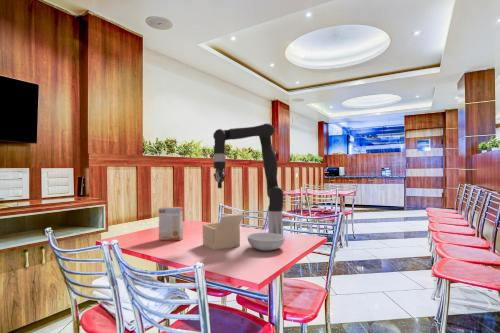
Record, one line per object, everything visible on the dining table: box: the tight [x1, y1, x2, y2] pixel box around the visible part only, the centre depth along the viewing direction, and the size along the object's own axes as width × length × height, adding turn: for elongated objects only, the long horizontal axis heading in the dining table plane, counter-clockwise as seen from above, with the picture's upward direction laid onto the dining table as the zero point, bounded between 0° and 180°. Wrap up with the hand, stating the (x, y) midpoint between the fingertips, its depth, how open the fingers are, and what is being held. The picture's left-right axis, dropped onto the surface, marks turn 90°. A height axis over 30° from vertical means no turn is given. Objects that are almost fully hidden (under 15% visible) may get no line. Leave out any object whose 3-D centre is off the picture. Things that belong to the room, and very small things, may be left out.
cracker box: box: [158, 206, 184, 242], centre depth 182 cm, size 14×6×21 cm, turn 84°
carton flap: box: [217, 213, 245, 229], centre depth 157 cm, size 10×14×1 cm
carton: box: [202, 221, 241, 252], centre depth 167 cm, size 17×17×12 cm
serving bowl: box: [247, 232, 286, 252], centre depth 160 cm, size 21×21×7 cm
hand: (219, 188), depth 180 cm, fingers closed
